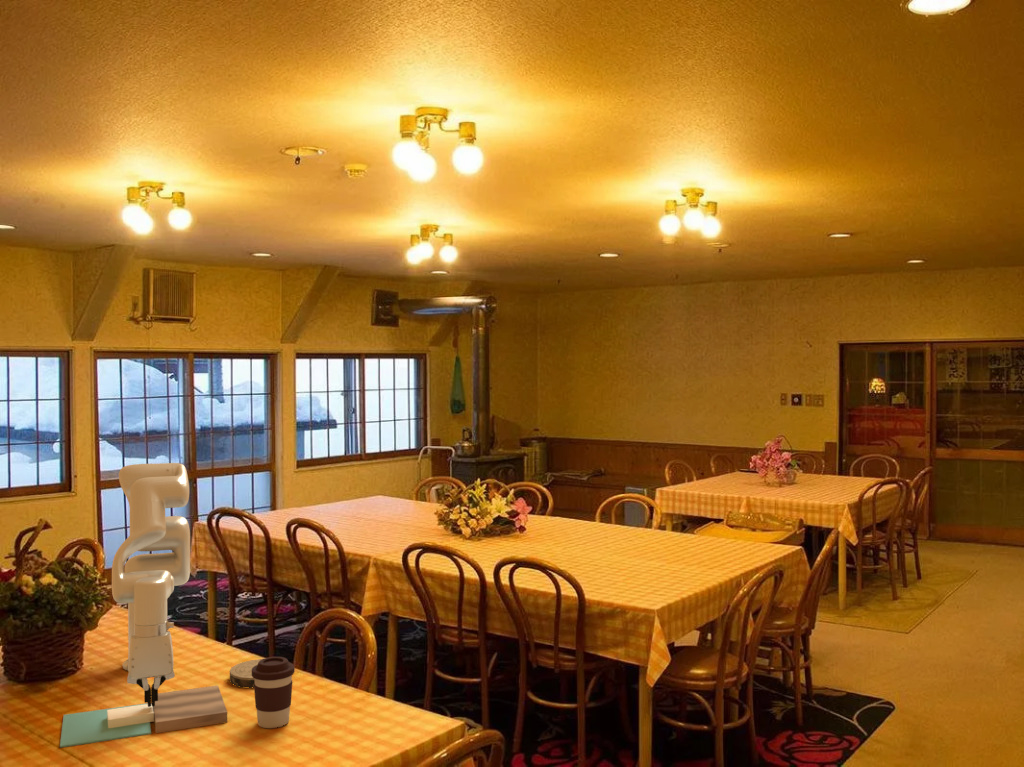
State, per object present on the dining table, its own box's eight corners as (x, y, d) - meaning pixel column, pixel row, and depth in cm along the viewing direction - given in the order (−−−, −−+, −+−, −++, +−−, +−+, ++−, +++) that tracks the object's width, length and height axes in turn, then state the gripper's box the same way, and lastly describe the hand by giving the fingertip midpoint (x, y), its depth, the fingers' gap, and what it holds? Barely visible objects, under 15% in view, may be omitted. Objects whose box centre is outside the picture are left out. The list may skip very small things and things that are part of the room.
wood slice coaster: (239, 693, 239) (239, 682, 239) (222, 676, 252) (222, 665, 252) (298, 682, 247) (298, 671, 247) (279, 665, 261) (279, 655, 261)
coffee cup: (249, 719, 220) (249, 657, 220) (290, 712, 224) (290, 652, 224) (254, 734, 211) (254, 669, 211) (298, 727, 215) (297, 664, 215)
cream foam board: (107, 718, 220) (107, 709, 220) (151, 711, 224) (151, 703, 224) (108, 728, 214) (108, 719, 214) (153, 721, 218) (153, 713, 218)
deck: (151, 704, 230) (151, 694, 230) (218, 694, 237) (218, 685, 237) (155, 733, 212) (155, 722, 212) (227, 722, 218) (227, 711, 218)
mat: (63, 716, 222) (63, 714, 222) (147, 704, 230) (147, 703, 230) (59, 747, 204) (59, 745, 204) (151, 733, 211) (151, 732, 211)
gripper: (182, 621, 227) (182, 695, 227) (116, 628, 221) (117, 704, 221) (184, 629, 220) (185, 705, 220) (117, 637, 214) (117, 714, 214)
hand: (151, 704), depth 221 cm, fingers closed
